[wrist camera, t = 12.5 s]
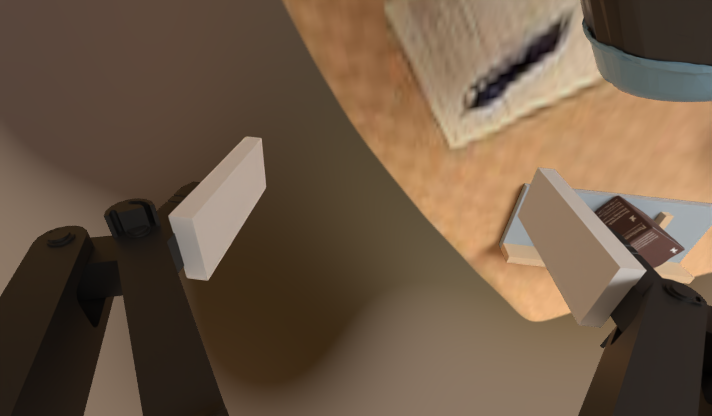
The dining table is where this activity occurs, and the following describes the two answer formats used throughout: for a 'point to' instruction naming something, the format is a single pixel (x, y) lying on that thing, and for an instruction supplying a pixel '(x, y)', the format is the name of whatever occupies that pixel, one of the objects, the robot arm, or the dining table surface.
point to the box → (639, 231)
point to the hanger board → (671, 215)
